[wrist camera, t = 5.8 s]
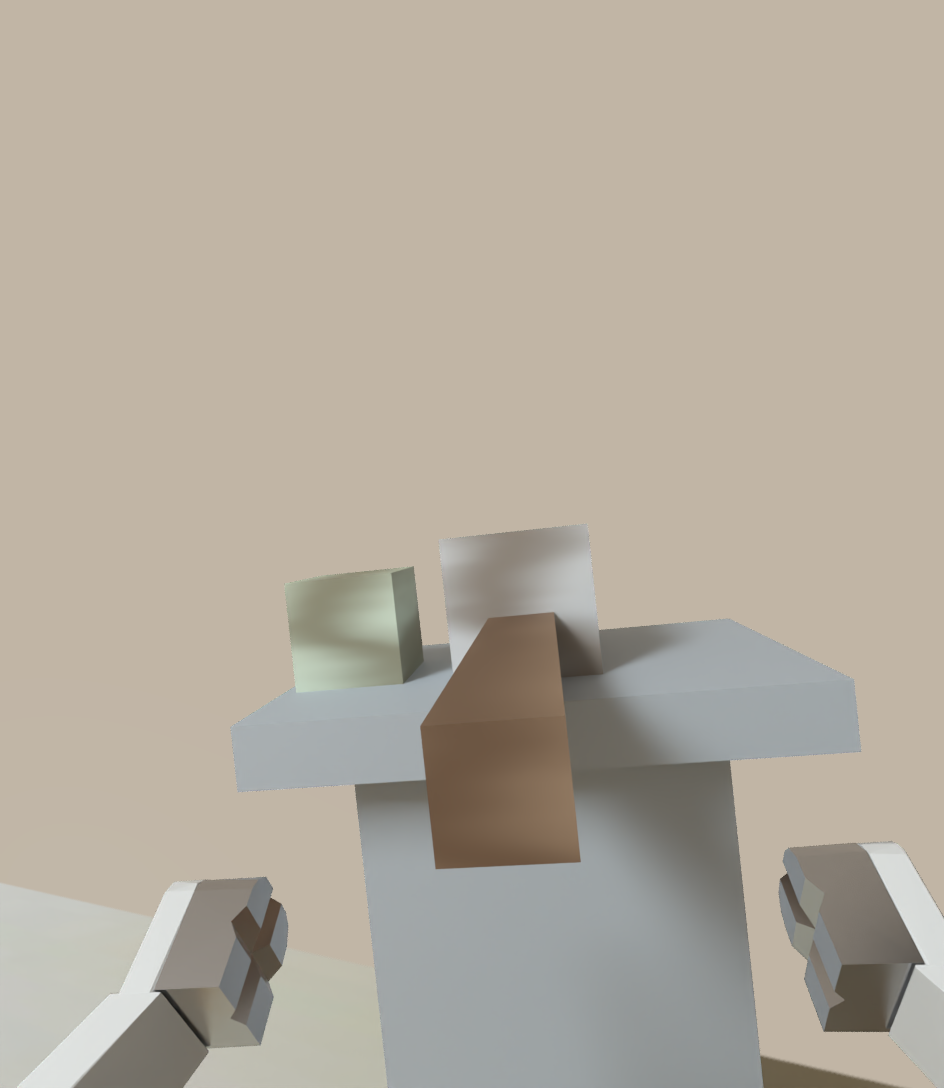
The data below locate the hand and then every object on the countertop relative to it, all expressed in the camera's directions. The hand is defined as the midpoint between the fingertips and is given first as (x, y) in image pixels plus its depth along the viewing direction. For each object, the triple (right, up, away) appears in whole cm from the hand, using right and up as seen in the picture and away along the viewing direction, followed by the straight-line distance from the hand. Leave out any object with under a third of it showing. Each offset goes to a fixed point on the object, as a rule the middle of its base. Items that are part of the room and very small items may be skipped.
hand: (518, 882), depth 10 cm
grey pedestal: (+4, -25, +15) cm, 29 cm away
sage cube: (-5, 0, +15) cm, 16 cm away
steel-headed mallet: (+1, +1, +9) cm, 9 cm away
